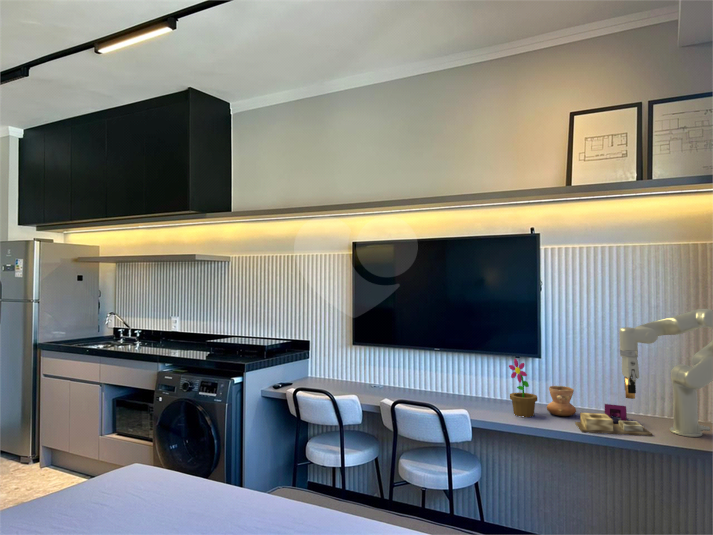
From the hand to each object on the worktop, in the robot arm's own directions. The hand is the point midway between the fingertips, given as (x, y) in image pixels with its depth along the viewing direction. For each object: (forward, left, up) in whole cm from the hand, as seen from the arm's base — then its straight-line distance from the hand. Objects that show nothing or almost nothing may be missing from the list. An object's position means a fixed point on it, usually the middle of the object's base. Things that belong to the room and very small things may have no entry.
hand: (630, 391), depth 233 cm
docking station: (+8, 0, -18) cm, 20 cm away
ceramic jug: (+26, -25, -19) cm, 41 cm away
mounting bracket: (+2, -17, -19) cm, 26 cm away
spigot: (0, 0, -3) cm, 3 cm away
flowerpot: (+46, -20, -19) cm, 54 cm away
